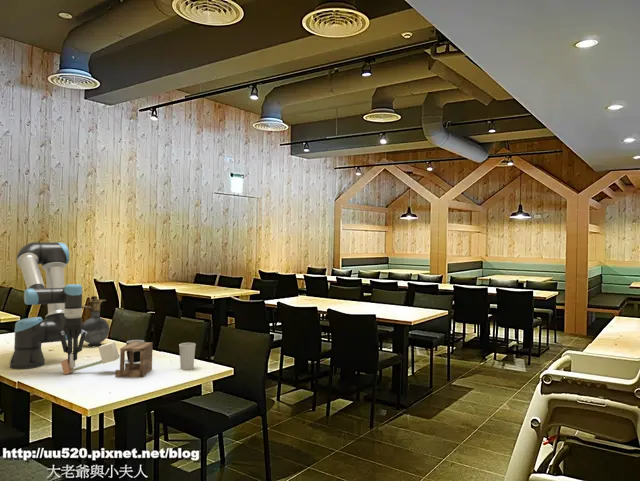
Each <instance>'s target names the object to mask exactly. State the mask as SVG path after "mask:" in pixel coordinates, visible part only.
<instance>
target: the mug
mask: <svg viewBox="0 0 640 481" xmlns="http://www.w3.org/2000/svg"><path fill="white" fill-rule="evenodd" d="M130 342H145V340H142V339H131V340H126V344H125V345H127V344H129V343H130ZM129 355H130V351H126V357H127V361H128V362H129ZM133 363H140V351H134V358H133Z"/></svg>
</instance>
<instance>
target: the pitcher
mask: <svg viewBox="0 0 640 481" xmlns="http://www.w3.org/2000/svg"><path fill="white" fill-rule="evenodd" d="M106 301H107V300H106V299H99V296H95V295H91V297H90V298H89V299H87V303H89V305H82V310H84V309H87V310H88V309H89V310H90V318H87V319H86V320H85V321H83V322H82V328H83V330H84V331H85V332H86V331H87V332H88V333H87V335H86V336H85V340H84V343H88V344H87V347H88V346H89V348H94V347H93V346H98V347H100V345H101V346H102V345H103V344H102V342H104V341H105V340H106V339H107V338H108V336H109V334H110V326H109V324H108V321H107V320H106V319H104V318H102V317H101V304H102V303H103V302H106ZM79 336H81V333H80V334H79Z"/></svg>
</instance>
